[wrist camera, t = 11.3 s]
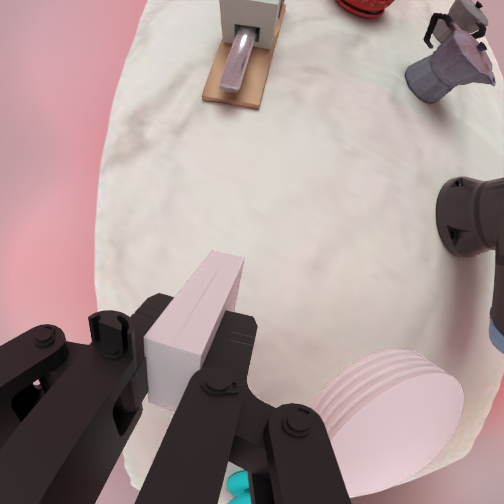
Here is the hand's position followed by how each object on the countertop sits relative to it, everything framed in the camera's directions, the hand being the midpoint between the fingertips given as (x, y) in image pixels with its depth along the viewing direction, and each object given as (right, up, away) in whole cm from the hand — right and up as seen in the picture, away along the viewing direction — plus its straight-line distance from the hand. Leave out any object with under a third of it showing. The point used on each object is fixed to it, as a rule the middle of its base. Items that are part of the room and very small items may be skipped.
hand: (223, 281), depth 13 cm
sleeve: (+1, +38, +24) cm, 45 cm away
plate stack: (+25, -29, +31) cm, 49 cm away
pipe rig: (+1, +37, +26) cm, 45 cm away
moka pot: (+35, +35, +27) cm, 56 cm away
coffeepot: (+49, +54, +27) cm, 78 cm away
